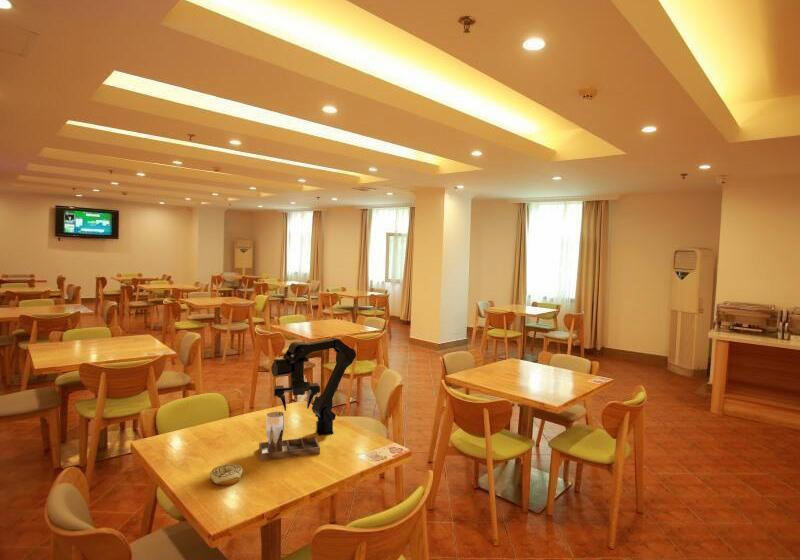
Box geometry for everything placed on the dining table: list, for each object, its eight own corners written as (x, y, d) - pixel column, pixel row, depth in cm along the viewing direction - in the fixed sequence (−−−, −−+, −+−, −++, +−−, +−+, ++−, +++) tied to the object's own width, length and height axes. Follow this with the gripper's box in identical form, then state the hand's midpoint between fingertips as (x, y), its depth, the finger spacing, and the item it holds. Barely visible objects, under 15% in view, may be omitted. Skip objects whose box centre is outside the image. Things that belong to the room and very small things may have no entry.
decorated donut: (213, 490, 153) (213, 479, 152) (207, 476, 162) (207, 466, 161) (245, 482, 158) (245, 471, 158) (238, 469, 167) (238, 459, 167)
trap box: (315, 442, 192) (315, 436, 192) (319, 453, 181) (320, 447, 181) (259, 448, 185) (259, 442, 184) (260, 460, 174) (260, 454, 174)
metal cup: (287, 450, 183) (288, 413, 182) (276, 456, 177) (276, 418, 176) (273, 446, 186) (274, 410, 185) (261, 453, 180) (262, 415, 179)
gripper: (275, 379, 182) (275, 418, 183) (322, 376, 188) (322, 413, 189) (273, 372, 192) (273, 409, 193) (318, 369, 199) (317, 405, 200)
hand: (296, 409), depth 194 cm, fingers open, 9 cm apart
